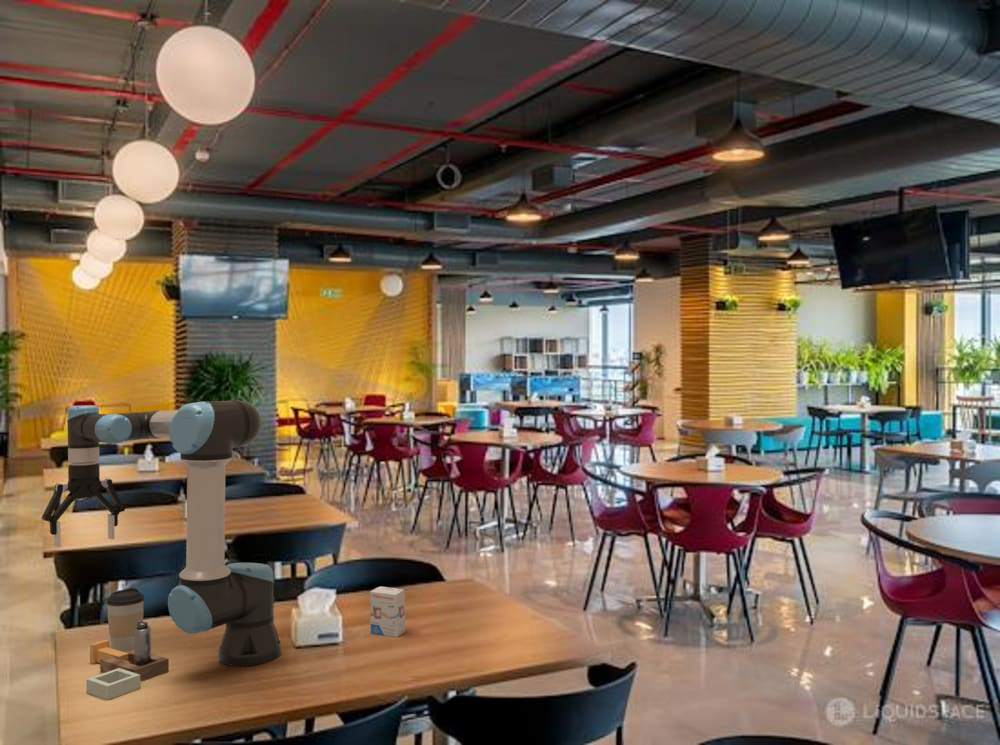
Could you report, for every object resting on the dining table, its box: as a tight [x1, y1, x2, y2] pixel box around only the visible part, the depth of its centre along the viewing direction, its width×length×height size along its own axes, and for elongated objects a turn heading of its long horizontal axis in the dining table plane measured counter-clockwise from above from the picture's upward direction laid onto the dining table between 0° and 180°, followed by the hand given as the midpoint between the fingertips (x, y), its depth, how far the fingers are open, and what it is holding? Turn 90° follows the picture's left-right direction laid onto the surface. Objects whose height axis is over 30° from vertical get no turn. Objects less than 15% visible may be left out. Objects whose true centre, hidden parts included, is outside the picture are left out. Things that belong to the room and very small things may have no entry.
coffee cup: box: [105, 587, 145, 652], centre depth 217 cm, size 9×9×15 cm
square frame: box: [85, 668, 141, 701], centre depth 190 cm, size 8×8×3 cm
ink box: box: [369, 586, 406, 638], centre depth 229 cm, size 9×5×12 cm, turn 68°
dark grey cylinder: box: [134, 621, 152, 666], centre depth 199 cm, size 4×4×12 cm
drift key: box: [89, 639, 129, 664], centre depth 206 cm, size 10×4×4 cm, turn 58°
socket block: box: [99, 649, 170, 682], centre depth 201 cm, size 14×9×3 cm, turn 58°
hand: (84, 542), depth 224 cm, fingers open, 13 cm apart
